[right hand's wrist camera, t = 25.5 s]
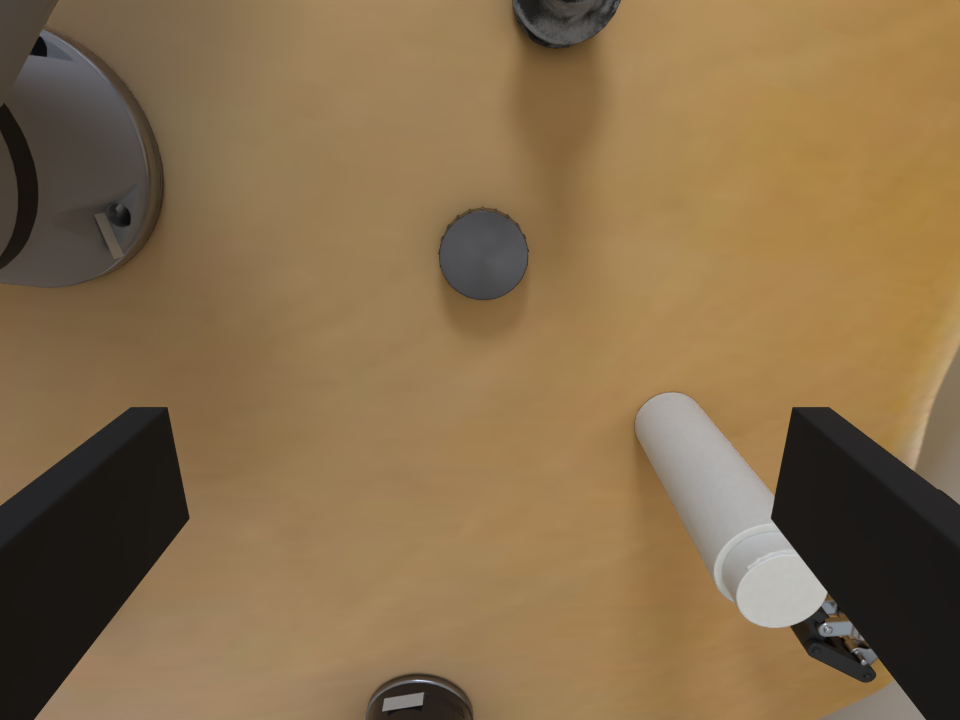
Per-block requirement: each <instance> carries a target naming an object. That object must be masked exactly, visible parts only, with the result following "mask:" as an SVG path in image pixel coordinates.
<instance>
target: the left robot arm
mask: <svg viewBox="0 0 960 720" xmlns="http://www.w3.org/2000/svg"><path fill="white" fill-rule="evenodd" d="M938 490H939V489H938ZM939 491H940V492H942V493H943V494H944V495H946V496H947V497H948V498H950V497H949V496H948V495H947V494H945V493H944V492H943V491H941V490H939ZM950 499H951V500H952V501H954V500H953V499H952V498H950ZM954 502H955V501H954ZM955 503H956V502H955ZM956 504H958V503H956ZM958 505H959V504H958ZM959 506H960V505H959ZM831 614H834V615H837V616H838V617H835V618H830V617H829V616H828V615H831ZM791 629H792V630H793V632H794V633H795V635H796V636H797V638H798V639H799V641H800V642H801V644H802V646H803V647H804V649H805V650H806V652H807V653H808V655H809V656H811V657H813V658H815V659H817V660H819V661H821V662H823V663H825V664H827V665H829V666H831V667H833V668H835V669H837V670H839V671H841V672H843V673H845V674H847V675H849V676H851V677H853V678H855V679H857V680H859V681H861V682H865V683H866V682H870V681H872V680H874V678H875V677H876V673H875V671H874V670H873V669H872V667H871V666H870V665H871V664H872V663H873V662H874V661H875V660H876V659H878V657H877V656H876V654H875V653H874V652H873V650H872V649H871V648H870V646H869V645H868V644H867V643H866V641H865V640H864V639H863V637H862V636H861V635H860V634H859V632H858V631H857V630H856V628H855V627H854V626H853V624H852V623H851V622H850V621H849V619H848V618H847V617H846V615H845V614H844V613H843V612H842V610H841V609H840V608H839V606H838V605H837V604H836V603H835V601H834V600H833V599H832V597H826V598H825V600H824V602H823V603H822V605H821V606H820V608H819V609H818V610H817V611H816V612H815V613H814V614H812V615H811V616H810V617H808V618H807V619H805V620H803V621H801V622H799V623H797V624H794V625H791ZM848 635H849V636H853V637H854V638H856V639H853V638H852V639H850V637H849V636H848ZM839 636H842V638H841V637H839ZM857 639H858V640H857ZM366 720H473V710H472V706H471V704H470V702H469V700H468V698H467V697H466V695H465V694H464V693H463V692H462V691H461V690H460V689H458V688H457V687H456V686H454V685H453V684H451V683H449V682H447V681H445V680H442V679H439V678H435V677H431V676H421V675H415V676H406V677H401V678H398V679H395V680H392V681H390V682H388V683H386V684H385V685H383V686H382V687H380V688H379V689H378V690H377V691H376V692H375V693H374V695H373V696H372V698H371V700H370V702H369V704H368V708H367V713H366Z"/></svg>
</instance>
